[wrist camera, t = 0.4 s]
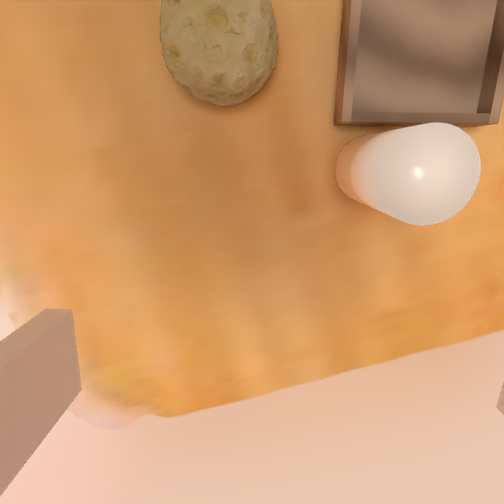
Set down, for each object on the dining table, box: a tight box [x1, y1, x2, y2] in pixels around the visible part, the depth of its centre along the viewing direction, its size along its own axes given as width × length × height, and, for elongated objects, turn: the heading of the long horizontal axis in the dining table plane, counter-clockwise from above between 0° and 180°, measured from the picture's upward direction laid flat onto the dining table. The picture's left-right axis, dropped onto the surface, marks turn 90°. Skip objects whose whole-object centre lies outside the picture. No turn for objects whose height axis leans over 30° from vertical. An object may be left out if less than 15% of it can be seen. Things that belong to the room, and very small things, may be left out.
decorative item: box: [160, 0, 277, 106], centre depth 27 cm, size 10×10×10 cm
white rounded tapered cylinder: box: [335, 122, 481, 226], centre depth 27 cm, size 6×6×12 cm
